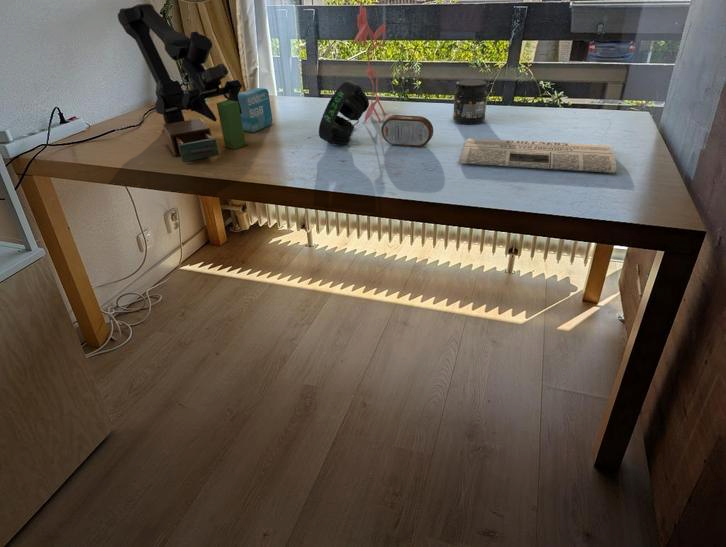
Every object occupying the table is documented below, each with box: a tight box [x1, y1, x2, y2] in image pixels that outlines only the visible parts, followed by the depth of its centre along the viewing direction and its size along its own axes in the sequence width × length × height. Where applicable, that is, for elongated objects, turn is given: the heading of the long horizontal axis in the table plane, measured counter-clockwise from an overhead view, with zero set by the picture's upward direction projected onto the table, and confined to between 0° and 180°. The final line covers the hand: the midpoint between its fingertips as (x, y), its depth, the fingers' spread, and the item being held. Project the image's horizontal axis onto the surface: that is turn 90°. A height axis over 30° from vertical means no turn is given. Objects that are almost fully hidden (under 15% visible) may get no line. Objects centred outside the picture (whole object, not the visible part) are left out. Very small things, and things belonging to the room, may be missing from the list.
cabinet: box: [162, 118, 212, 157], centre depth 150 cm, size 13×11×6 cm
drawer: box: [174, 131, 220, 163], centre depth 141 cm, size 16×10×5 cm, turn 28°
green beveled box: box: [216, 99, 247, 150], centre depth 147 cm, size 4×4×13 cm
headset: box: [318, 79, 370, 147], centre depth 146 cm, size 18×14×29 cm
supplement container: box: [452, 79, 488, 125], centre depth 159 cm, size 10×10×12 cm
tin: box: [380, 114, 434, 148], centre depth 141 cm, size 15×3×8 cm, turn 71°
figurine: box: [352, 3, 387, 123], centre depth 162 cm, size 15×26×35 cm, turn 168°
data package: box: [238, 87, 273, 133], centre depth 163 cm, size 12×4×12 cm, turn 152°
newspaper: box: [459, 138, 617, 174], centre depth 129 cm, size 37×19×3 cm, turn 73°
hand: (228, 116), depth 146 cm, fingers open, 9 cm apart
